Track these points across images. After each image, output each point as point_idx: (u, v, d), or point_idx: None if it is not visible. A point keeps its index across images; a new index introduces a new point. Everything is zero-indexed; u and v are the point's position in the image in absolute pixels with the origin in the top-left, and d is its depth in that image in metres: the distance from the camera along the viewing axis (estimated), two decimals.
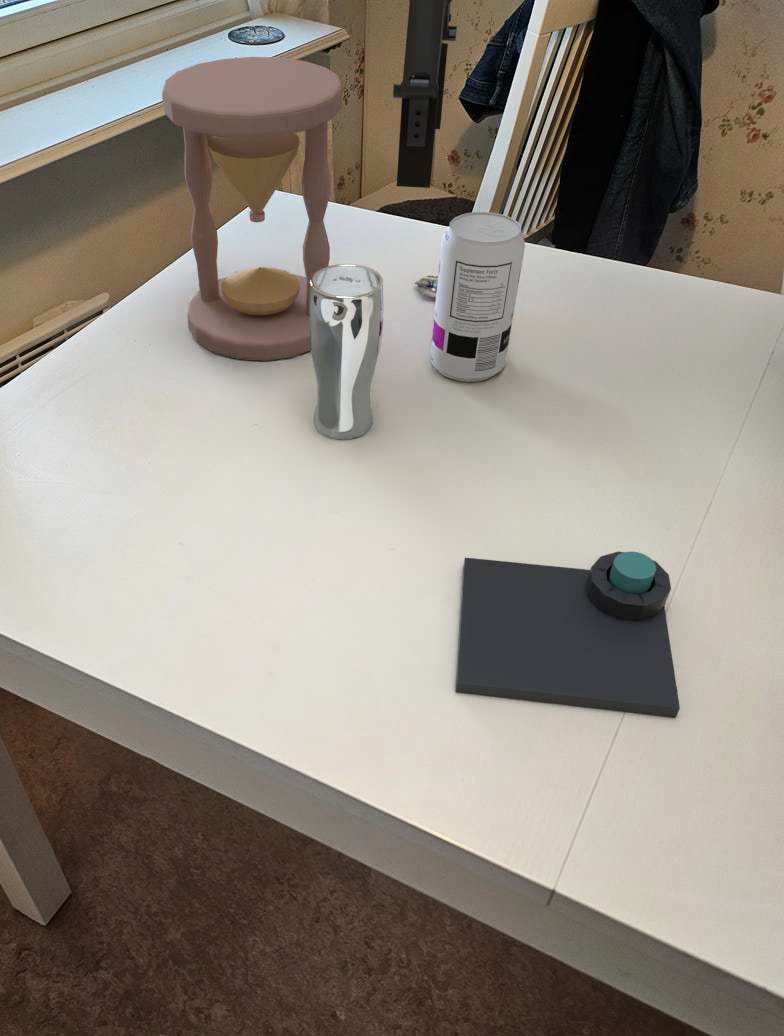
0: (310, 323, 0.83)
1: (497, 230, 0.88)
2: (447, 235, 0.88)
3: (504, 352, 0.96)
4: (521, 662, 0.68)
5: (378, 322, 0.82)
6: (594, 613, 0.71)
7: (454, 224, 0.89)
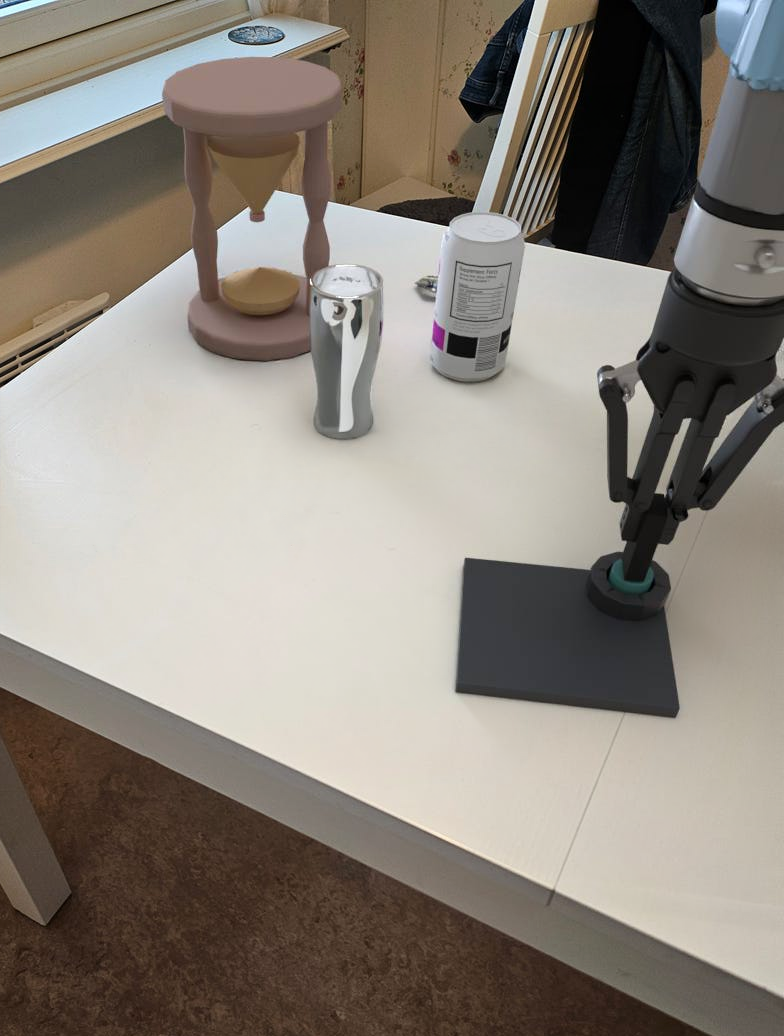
0: (310, 323, 0.83)
1: (497, 230, 0.88)
2: (447, 235, 0.88)
3: (504, 352, 0.96)
4: (521, 662, 0.68)
5: (378, 322, 0.82)
6: (594, 613, 0.71)
7: (454, 224, 0.89)
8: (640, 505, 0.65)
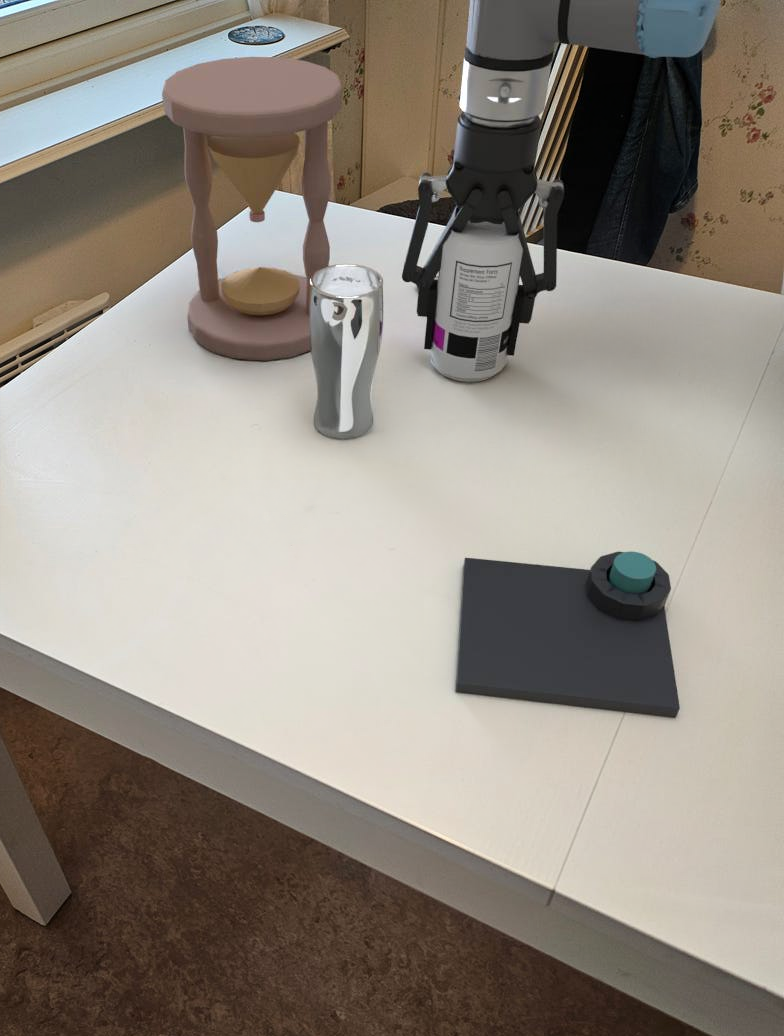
0: (310, 323, 0.83)
1: (497, 230, 0.88)
2: None
3: (504, 352, 0.96)
4: (521, 662, 0.68)
5: (378, 322, 0.82)
6: (594, 613, 0.71)
7: None
8: (424, 283, 0.92)
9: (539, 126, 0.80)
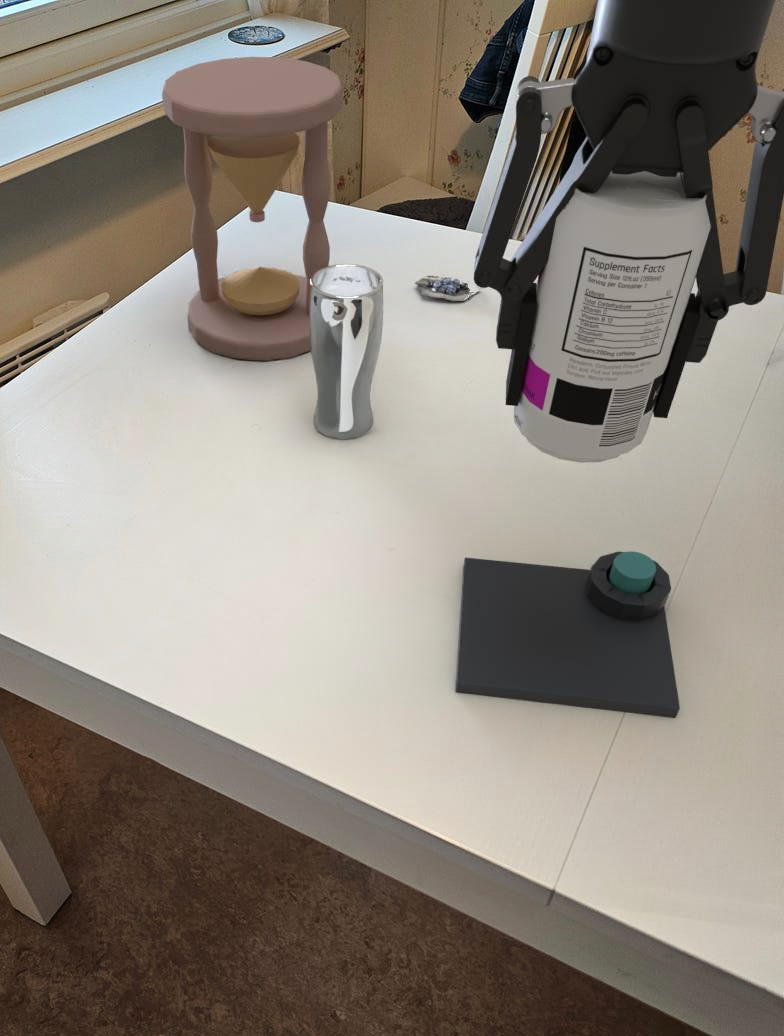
0: (310, 323, 0.83)
1: (663, 189, 0.46)
2: None
3: (651, 412, 0.54)
4: (521, 662, 0.68)
5: (378, 322, 0.82)
6: (594, 613, 0.71)
7: None
8: (514, 289, 0.50)
9: None
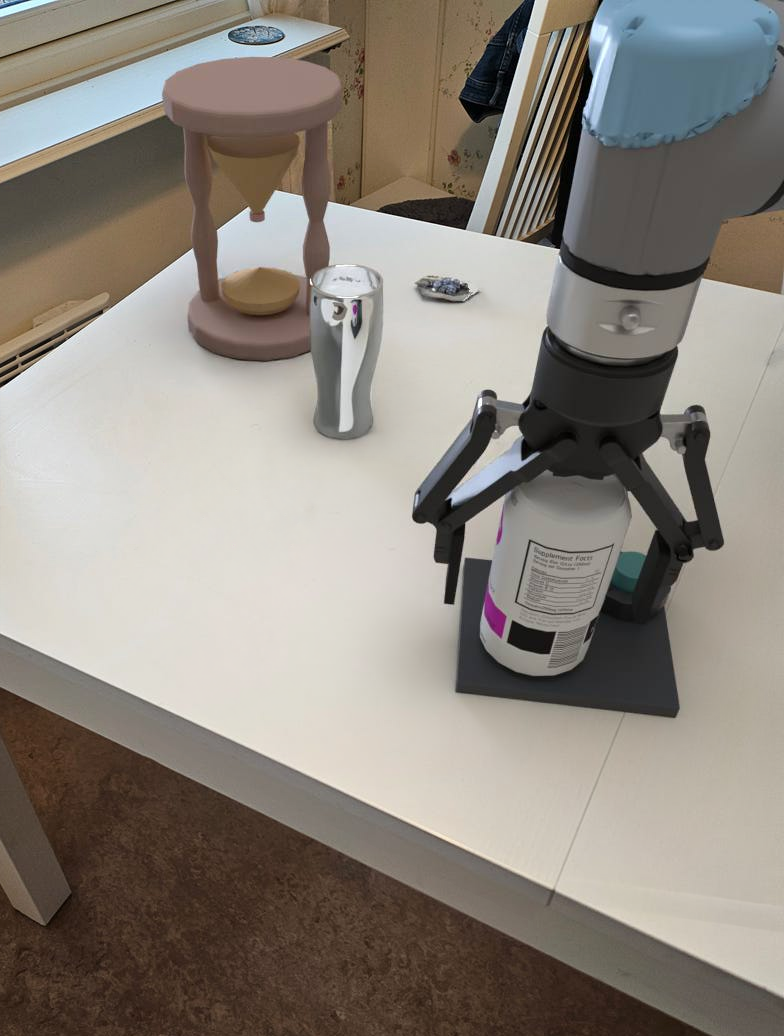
0: (310, 323, 0.83)
1: (592, 493, 0.58)
2: (515, 497, 0.59)
3: (590, 638, 0.66)
4: None
5: (378, 322, 0.82)
6: None
7: None
8: (446, 526, 0.61)
9: (675, 357, 0.50)
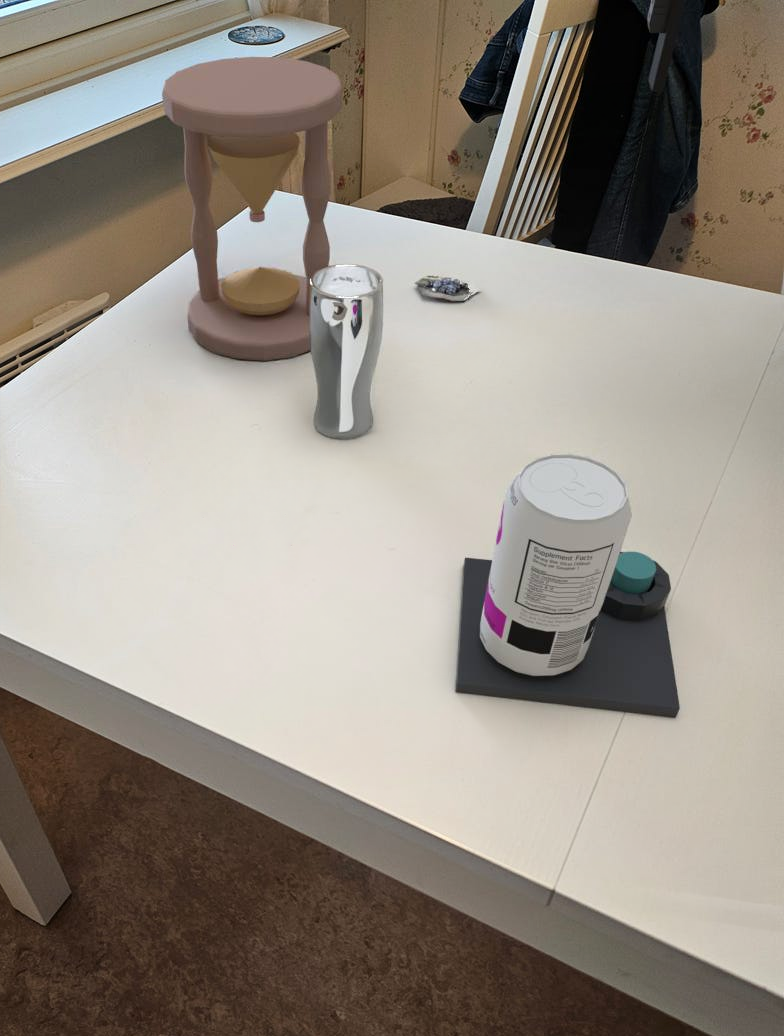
0: (310, 323, 0.83)
1: (591, 493, 0.58)
2: (515, 497, 0.59)
3: (590, 638, 0.66)
4: None
5: (378, 322, 0.82)
6: None
7: (525, 478, 0.59)
8: None
9: None
